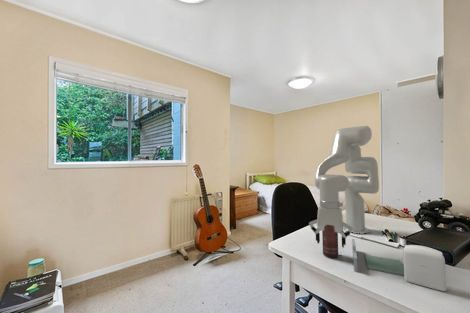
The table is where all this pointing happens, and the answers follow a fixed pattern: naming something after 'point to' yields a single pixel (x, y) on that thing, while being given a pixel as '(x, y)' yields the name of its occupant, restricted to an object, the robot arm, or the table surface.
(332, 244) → the can
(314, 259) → the table surface
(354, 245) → the acrylic wall
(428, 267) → the photo printer
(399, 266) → the mat
